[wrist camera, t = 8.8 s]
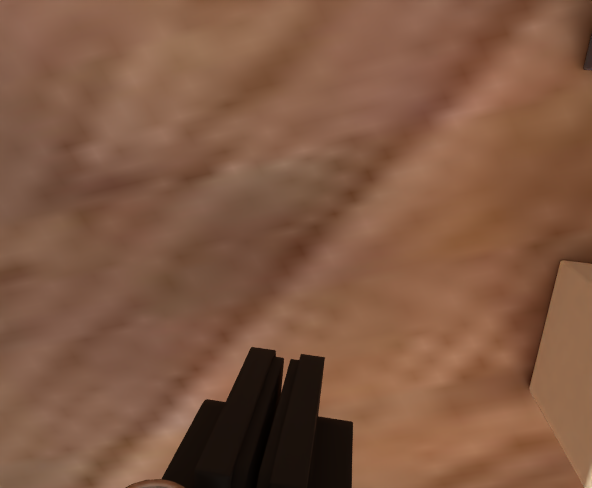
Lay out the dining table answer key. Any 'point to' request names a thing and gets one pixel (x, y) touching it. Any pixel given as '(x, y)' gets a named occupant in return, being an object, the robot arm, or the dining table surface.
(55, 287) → the dining table surface
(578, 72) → the dining table surface
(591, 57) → the slate block
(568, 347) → the cream block
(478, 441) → the dining table surface
